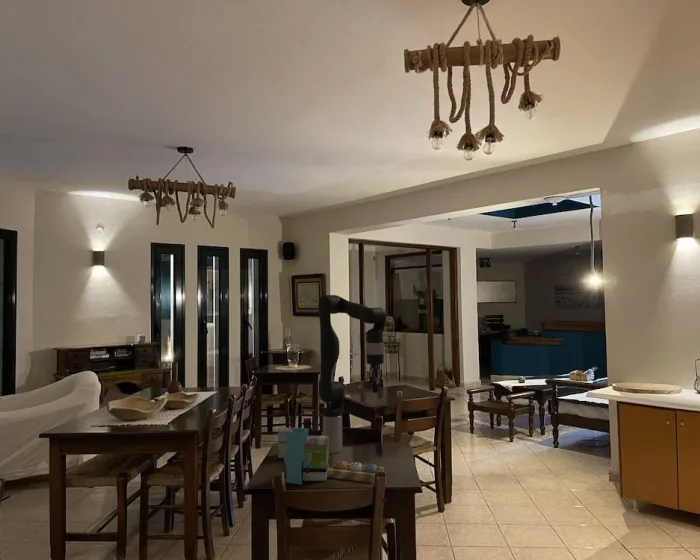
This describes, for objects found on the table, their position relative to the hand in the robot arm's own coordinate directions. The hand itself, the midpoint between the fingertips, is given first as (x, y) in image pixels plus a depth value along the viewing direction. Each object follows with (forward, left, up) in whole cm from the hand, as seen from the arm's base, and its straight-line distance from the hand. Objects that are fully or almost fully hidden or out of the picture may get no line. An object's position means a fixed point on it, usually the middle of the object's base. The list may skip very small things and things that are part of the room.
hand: (375, 392), depth 234 cm
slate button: (+2, -15, -31) cm, 35 cm away
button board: (-4, -15, -32) cm, 36 cm away
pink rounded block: (-11, -15, -31) cm, 36 cm away
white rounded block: (-4, -15, -31) cm, 35 cm away
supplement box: (-43, 0, -32) cm, 54 cm away
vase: (-24, -28, -32) cm, 49 cm away
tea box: (-20, -20, -32) cm, 43 cm away
